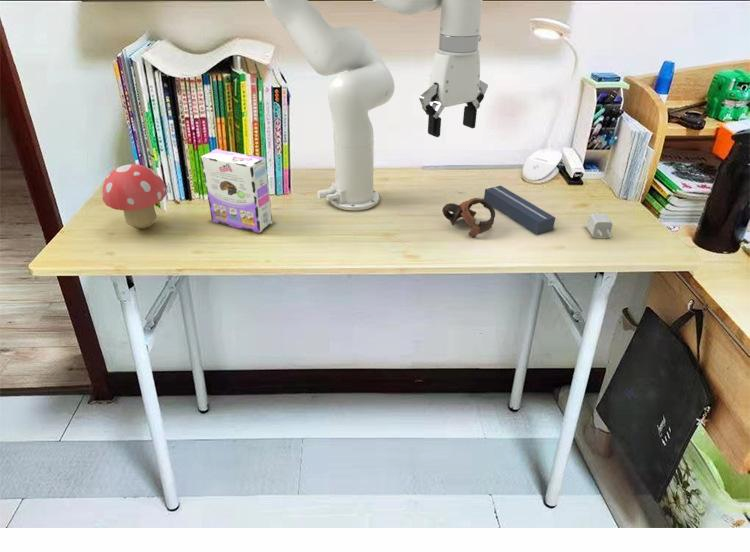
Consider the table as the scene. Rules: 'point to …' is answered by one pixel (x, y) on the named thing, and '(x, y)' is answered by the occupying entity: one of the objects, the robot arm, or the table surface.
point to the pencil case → (519, 209)
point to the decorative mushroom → (134, 193)
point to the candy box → (237, 189)
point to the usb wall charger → (599, 225)
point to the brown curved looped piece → (469, 215)
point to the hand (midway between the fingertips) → (451, 130)
